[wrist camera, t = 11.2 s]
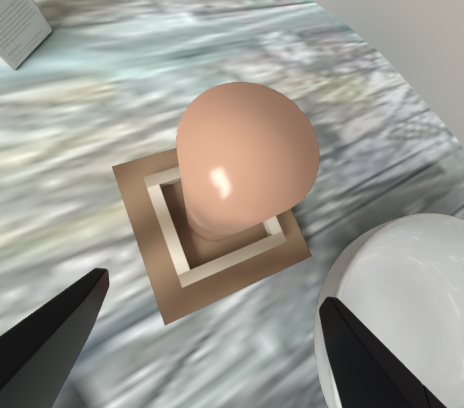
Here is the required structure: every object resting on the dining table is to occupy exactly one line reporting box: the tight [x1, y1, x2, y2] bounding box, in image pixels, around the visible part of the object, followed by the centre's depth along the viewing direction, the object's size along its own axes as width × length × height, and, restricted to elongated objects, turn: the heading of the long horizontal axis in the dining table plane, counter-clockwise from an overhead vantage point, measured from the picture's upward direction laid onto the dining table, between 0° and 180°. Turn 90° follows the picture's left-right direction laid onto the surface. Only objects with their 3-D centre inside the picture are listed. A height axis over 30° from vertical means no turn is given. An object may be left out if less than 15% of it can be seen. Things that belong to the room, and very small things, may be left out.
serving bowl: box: [314, 213, 464, 408], centre depth 19 cm, size 21×21×7 cm
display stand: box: [112, 149, 312, 325], centre depth 20 cm, size 14×14×3 cm
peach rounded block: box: [176, 82, 319, 241], centre depth 14 cm, size 5×5×13 cm
